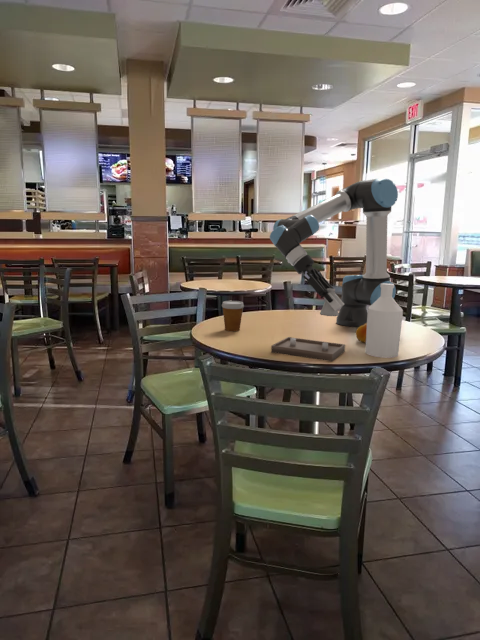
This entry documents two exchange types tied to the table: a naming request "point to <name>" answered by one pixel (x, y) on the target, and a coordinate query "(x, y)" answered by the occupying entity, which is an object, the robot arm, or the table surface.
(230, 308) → the disposable coffee cup
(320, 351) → the caddy tray
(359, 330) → the fruit
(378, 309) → the bottle
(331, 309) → the flask
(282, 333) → the table surface
